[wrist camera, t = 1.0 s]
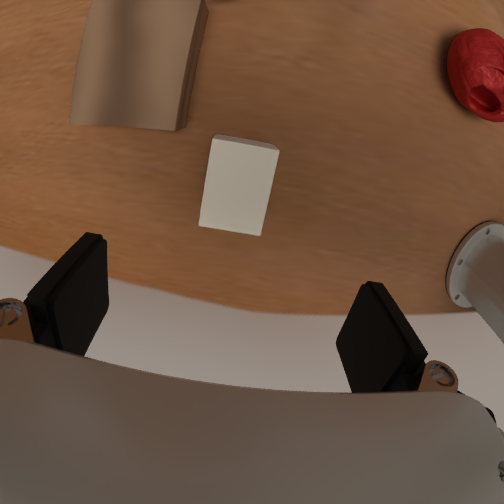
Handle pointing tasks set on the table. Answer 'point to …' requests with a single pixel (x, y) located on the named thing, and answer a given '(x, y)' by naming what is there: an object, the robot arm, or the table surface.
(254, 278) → the table surface
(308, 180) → the table surface
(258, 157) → the cream block
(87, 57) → the walnut block
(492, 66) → the pomegranate
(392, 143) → the table surface
